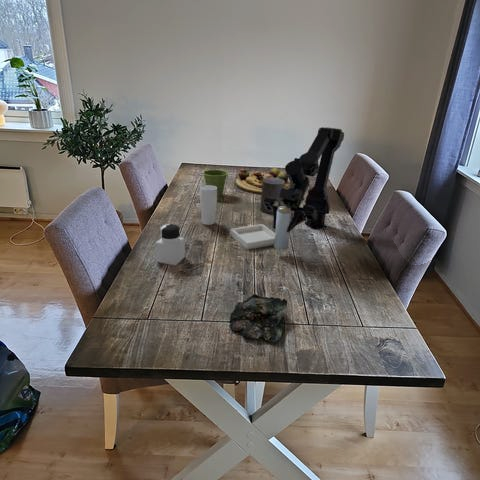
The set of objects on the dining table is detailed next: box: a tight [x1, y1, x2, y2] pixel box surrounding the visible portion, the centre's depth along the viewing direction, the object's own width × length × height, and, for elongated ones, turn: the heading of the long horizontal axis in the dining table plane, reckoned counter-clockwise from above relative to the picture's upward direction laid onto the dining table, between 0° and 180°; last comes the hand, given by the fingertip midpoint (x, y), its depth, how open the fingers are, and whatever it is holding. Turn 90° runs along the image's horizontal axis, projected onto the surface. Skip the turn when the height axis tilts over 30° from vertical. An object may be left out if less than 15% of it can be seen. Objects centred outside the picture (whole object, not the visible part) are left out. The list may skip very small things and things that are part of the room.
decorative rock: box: [228, 293, 288, 343], centre depth 110 cm, size 19×6×15 cm
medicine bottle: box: [155, 223, 186, 266], centre depth 139 cm, size 7×7×12 cm
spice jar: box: [273, 206, 292, 251], centre depth 143 cm, size 5×5×14 cm
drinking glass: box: [199, 184, 218, 226], centre depth 169 cm, size 7×7×15 cm
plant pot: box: [202, 169, 229, 198], centre depth 202 cm, size 12×12×11 cm
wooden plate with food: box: [235, 166, 291, 195], centre depth 221 cm, size 32×32×8 cm
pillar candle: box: [260, 177, 285, 215], centre depth 185 cm, size 10×10×15 cm
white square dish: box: [229, 223, 275, 251], centre depth 158 cm, size 14×14×2 cm
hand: (280, 230), depth 143 cm, fingers closed on spice jar, 5 cm apart
